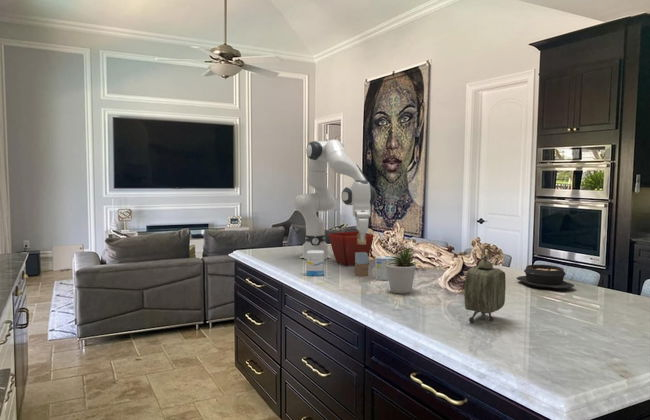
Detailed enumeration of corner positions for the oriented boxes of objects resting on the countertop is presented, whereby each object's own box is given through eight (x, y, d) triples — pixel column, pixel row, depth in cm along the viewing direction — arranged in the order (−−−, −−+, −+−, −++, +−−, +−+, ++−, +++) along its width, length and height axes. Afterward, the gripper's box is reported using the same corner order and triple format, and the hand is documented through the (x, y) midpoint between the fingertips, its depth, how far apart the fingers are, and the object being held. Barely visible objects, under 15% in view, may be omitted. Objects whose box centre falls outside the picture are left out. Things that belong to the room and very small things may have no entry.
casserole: (506, 282, 219) (507, 264, 219) (533, 278, 228) (534, 261, 228) (556, 294, 197) (556, 274, 197) (583, 289, 206) (584, 270, 206)
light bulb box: (397, 277, 231) (397, 255, 230) (398, 280, 225) (398, 258, 224) (375, 277, 232) (375, 255, 231) (375, 280, 226) (375, 257, 225)
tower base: (354, 273, 241) (355, 261, 241) (366, 273, 241) (366, 261, 241) (356, 276, 235) (356, 264, 235) (368, 276, 235) (368, 264, 235)
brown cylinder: (356, 243, 239) (356, 233, 239) (365, 243, 239) (365, 233, 239) (357, 244, 235) (357, 234, 234) (366, 244, 235) (366, 234, 234)
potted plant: (418, 295, 196) (419, 247, 195) (384, 294, 199) (385, 246, 197) (418, 288, 208) (419, 243, 207) (387, 287, 211) (387, 242, 210)
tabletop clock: (480, 313, 172) (481, 244, 170) (505, 317, 166) (507, 246, 164) (463, 322, 160) (465, 249, 159) (490, 328, 155) (492, 251, 153)
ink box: (323, 276, 236) (323, 252, 235) (306, 276, 236) (306, 252, 235) (324, 272, 244) (324, 250, 243) (307, 272, 244) (307, 250, 243)
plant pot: (328, 262, 274) (328, 232, 272) (357, 259, 282) (357, 231, 280) (343, 267, 256) (343, 236, 255) (374, 264, 264) (374, 234, 263)
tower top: (355, 262, 240) (355, 252, 239) (364, 261, 241) (364, 252, 240) (358, 264, 235) (358, 254, 234) (367, 263, 236) (367, 253, 235)
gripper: (353, 211, 246) (353, 237, 247) (357, 214, 226) (357, 243, 227) (365, 211, 246) (365, 237, 247) (370, 214, 226) (370, 243, 227)
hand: (361, 240), depth 237 cm, fingers closed on brown cylinder, 4 cm apart
